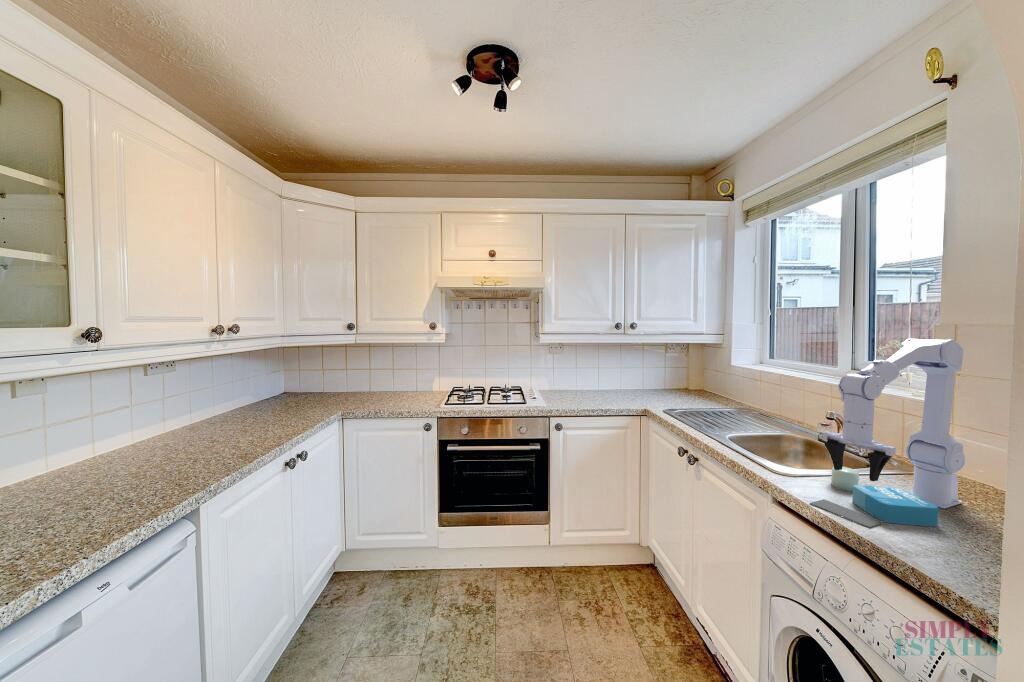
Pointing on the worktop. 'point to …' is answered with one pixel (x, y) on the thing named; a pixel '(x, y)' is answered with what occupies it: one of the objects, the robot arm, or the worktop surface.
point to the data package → (895, 505)
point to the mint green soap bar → (844, 478)
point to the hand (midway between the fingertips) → (855, 474)
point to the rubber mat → (847, 513)
